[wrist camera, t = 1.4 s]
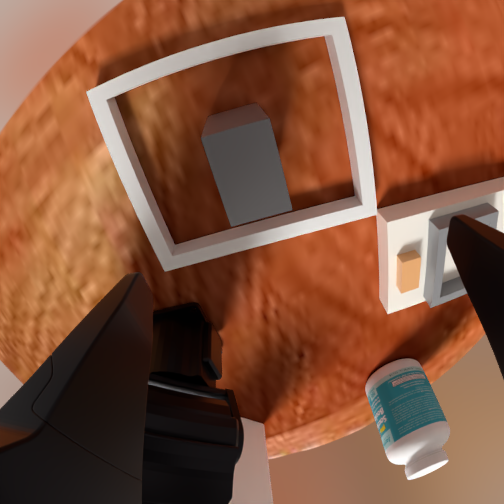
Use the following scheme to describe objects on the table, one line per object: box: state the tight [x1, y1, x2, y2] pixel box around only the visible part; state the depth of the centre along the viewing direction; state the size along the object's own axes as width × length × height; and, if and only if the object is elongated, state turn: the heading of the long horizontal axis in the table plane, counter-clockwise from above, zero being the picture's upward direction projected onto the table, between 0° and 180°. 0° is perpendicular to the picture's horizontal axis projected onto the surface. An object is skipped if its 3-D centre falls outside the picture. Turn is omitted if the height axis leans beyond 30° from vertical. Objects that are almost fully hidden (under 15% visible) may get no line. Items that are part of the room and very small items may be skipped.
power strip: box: [376, 177, 504, 314], centre depth 22 cm, size 21×9×4 cm, turn 105°
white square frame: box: [86, 17, 377, 272], centre depth 18 cm, size 15×13×2 cm
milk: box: [229, 417, 273, 504], centre depth 29 cm, size 6×6×22 cm
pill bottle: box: [365, 358, 450, 480], centre depth 29 cm, size 8×7×14 cm
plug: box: [201, 103, 292, 227], centre depth 17 cm, size 3×4×6 cm, turn 15°
